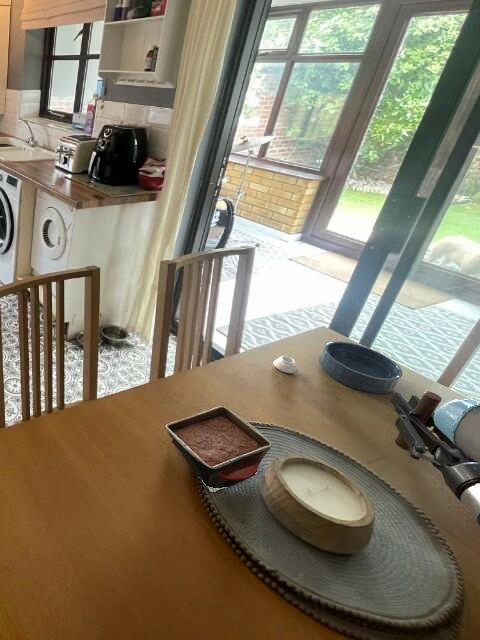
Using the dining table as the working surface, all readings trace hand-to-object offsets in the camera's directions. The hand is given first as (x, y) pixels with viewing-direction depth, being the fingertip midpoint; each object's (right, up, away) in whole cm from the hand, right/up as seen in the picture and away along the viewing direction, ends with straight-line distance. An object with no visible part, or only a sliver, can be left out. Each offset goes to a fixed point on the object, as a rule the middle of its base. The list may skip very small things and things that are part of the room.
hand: (403, 398), depth 90 cm
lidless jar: (-10, +1, +21) cm, 23 cm away
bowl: (+7, 0, +19) cm, 20 cm away
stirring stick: (-2, -9, -1) cm, 10 cm away
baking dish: (-45, -11, -5) cm, 47 cm away
